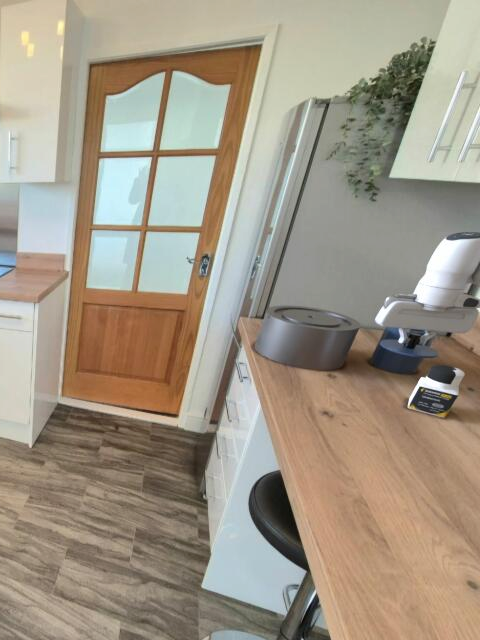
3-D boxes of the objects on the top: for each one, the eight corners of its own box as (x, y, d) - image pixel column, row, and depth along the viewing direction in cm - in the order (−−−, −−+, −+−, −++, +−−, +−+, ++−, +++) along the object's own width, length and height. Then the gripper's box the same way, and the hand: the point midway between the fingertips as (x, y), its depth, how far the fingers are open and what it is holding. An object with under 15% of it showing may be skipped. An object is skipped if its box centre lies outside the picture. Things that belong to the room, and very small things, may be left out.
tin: (405, 362, 141) (425, 323, 134) (423, 376, 131) (446, 335, 125) (363, 356, 144) (381, 318, 138) (378, 370, 135) (398, 330, 129)
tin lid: (422, 346, 125) (431, 329, 123) (446, 363, 115) (456, 345, 112) (371, 340, 129) (379, 324, 126) (389, 356, 119) (398, 338, 116)
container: (361, 372, 133) (380, 332, 127) (273, 366, 137) (287, 327, 131) (317, 343, 155) (332, 307, 149) (243, 338, 159) (254, 303, 153)
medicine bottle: (407, 408, 114) (429, 367, 109) (408, 399, 119) (430, 359, 113) (444, 418, 110) (469, 377, 104) (445, 408, 114) (469, 368, 109)
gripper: (395, 295, 114) (373, 343, 121) (492, 302, 109) (463, 352, 116) (382, 289, 120) (361, 336, 126) (474, 296, 115) (447, 343, 121)
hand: (410, 343), depth 121 cm, fingers closed on tin lid, 2 cm apart
